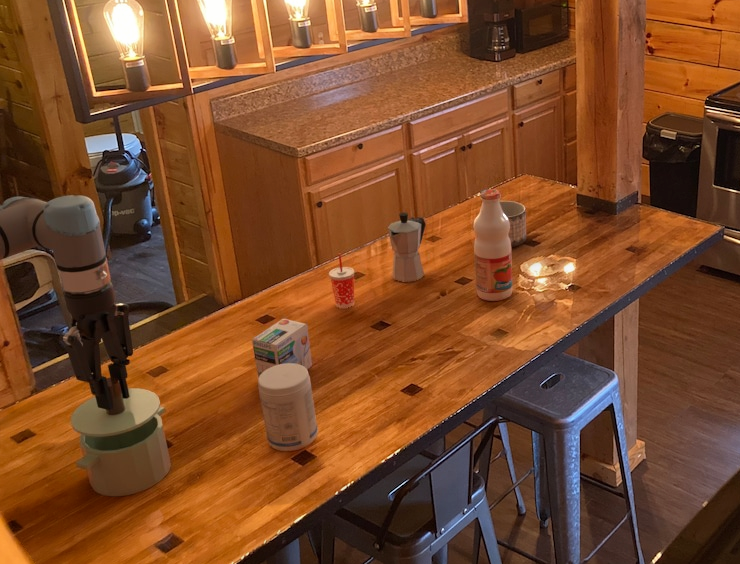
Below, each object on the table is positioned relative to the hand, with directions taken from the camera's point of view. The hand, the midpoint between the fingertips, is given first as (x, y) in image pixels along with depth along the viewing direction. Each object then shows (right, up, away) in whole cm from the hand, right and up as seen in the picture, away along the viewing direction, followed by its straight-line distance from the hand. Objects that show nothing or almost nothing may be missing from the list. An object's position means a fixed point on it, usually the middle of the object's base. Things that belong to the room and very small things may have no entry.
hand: (113, 401), depth 171 cm
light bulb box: (+18, 0, +38) cm, 42 cm away
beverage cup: (+23, +13, +69) cm, 74 cm away
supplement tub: (+27, -10, +16) cm, 33 cm away
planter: (+60, +29, +105) cm, 124 cm away
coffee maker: (+37, +20, +85) cm, 95 cm away
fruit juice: (+60, +15, +75) cm, 97 cm away
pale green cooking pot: (0, -14, +6) cm, 16 cm away
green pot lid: (0, -2, +1) cm, 2 cm away
